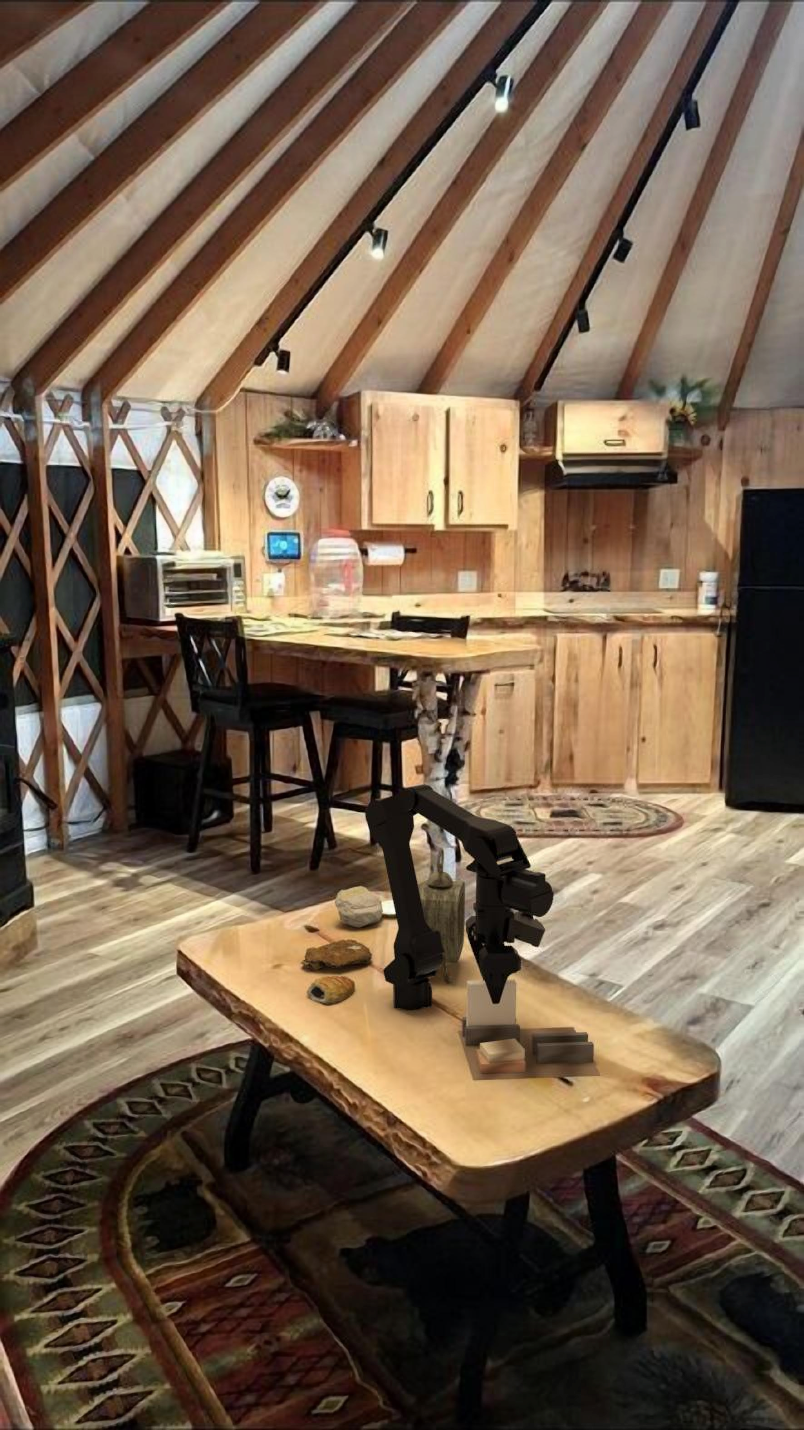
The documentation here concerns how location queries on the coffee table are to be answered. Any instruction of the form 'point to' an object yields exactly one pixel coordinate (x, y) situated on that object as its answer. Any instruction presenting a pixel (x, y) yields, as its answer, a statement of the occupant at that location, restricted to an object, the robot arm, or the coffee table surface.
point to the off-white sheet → (490, 1005)
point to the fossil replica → (358, 907)
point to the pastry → (331, 989)
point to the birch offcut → (502, 1051)
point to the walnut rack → (534, 1051)
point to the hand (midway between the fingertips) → (491, 991)
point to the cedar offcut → (499, 1065)
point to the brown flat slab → (337, 955)
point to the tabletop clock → (445, 911)
